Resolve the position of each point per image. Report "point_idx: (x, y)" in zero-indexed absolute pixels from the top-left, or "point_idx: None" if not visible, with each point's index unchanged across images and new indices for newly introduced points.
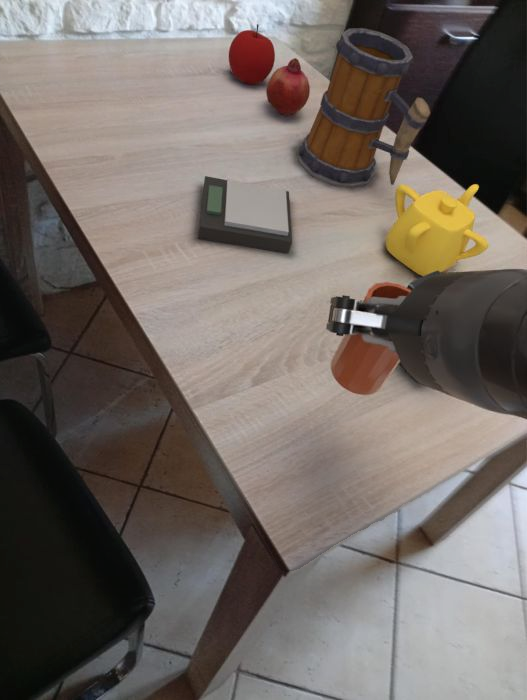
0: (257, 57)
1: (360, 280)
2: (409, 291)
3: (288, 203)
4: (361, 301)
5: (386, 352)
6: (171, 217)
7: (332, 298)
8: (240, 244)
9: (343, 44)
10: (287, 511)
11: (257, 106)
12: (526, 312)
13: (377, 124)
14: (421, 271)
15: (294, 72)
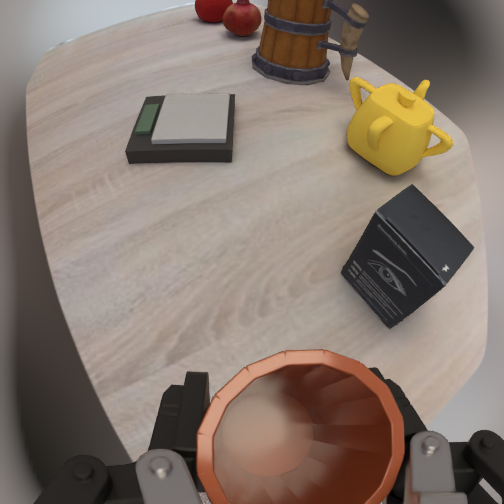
0: (215, 3)
1: (320, 186)
2: (359, 373)
3: (232, 106)
4: (165, 473)
5: None
6: (108, 146)
7: (39, 500)
8: (174, 161)
9: None
10: None
11: (218, 34)
12: None
13: (320, 27)
14: (388, 170)
15: (243, 4)
